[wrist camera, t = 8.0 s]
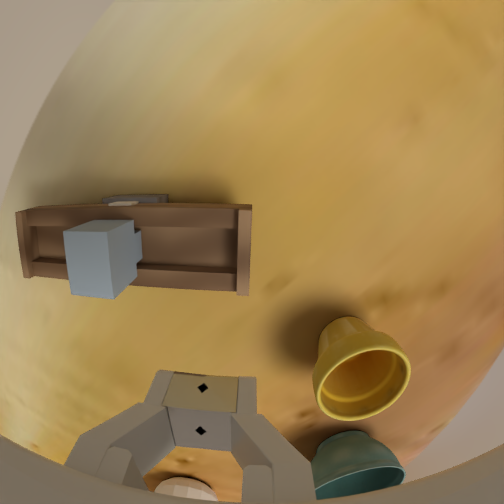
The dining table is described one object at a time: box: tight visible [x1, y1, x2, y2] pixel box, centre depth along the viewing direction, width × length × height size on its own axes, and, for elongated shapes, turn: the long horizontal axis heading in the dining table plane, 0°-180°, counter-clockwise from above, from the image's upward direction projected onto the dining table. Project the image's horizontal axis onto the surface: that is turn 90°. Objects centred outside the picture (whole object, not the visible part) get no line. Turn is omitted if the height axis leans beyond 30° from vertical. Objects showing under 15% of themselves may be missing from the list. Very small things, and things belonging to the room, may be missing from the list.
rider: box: [63, 220, 142, 299], centre depth 22 cm, size 5×4×7 cm
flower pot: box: [311, 431, 406, 500], centre depth 36 cm, size 16×16×11 cm
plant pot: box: [312, 317, 411, 421], centre depth 31 cm, size 10×10×10 cm
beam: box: [15, 194, 252, 296], centre depth 28 cm, size 8×24×8 cm, turn 88°
